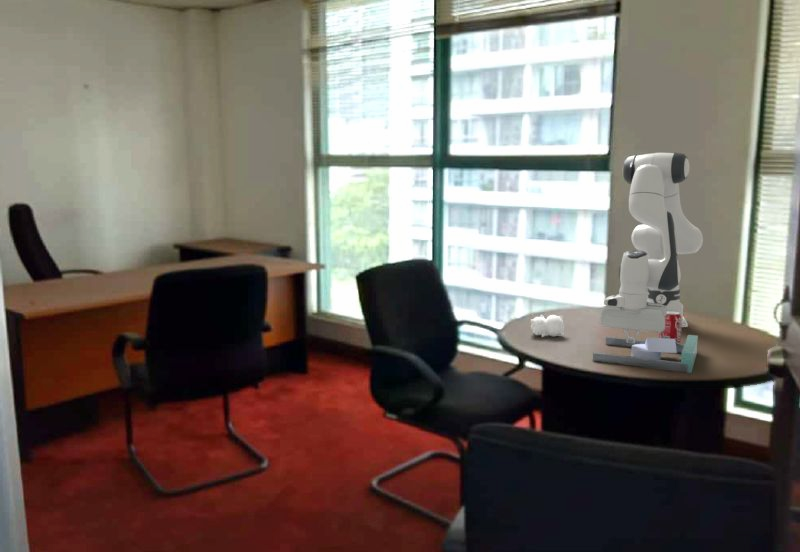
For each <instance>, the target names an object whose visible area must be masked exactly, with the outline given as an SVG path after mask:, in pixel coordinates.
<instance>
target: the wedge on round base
mask: <svg viewBox="0 0 800 552" xmlns="http://www.w3.org/2000/svg"><path fill="white" fill-rule="evenodd" d="M645 341H646V342H645V344H635V345H632V347H631V351H630V352H631V353H630V356H632V357H640V358H649V359H657V360H660V359H661V360H662V353H665V354H666V353H667V354H669V353H671V354H677V353H678V352H677V350H676V342H675V339H665V338H659V337H646V339H645Z"/></svg>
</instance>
